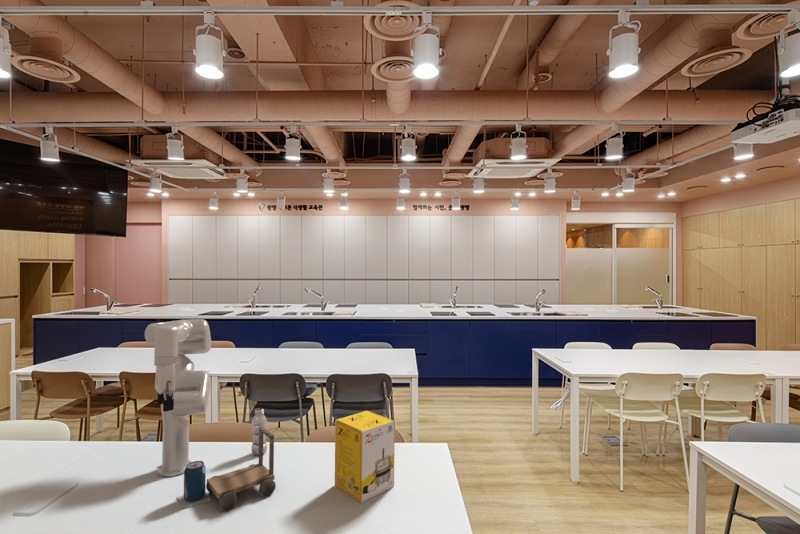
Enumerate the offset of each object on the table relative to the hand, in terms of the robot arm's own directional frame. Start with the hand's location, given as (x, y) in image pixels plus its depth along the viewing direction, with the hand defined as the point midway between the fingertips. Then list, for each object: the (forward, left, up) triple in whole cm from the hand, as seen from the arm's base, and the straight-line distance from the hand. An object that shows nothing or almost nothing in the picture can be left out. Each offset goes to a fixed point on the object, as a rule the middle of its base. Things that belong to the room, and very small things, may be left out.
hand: (165, 407), depth 146 cm
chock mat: (+9, +8, -32) cm, 34 cm away
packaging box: (+41, +60, -33) cm, 80 cm away
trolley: (+16, +22, -32) cm, 42 cm away
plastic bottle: (-12, +40, -32) cm, 53 cm away
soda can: (+9, +8, -32) cm, 34 cm away
